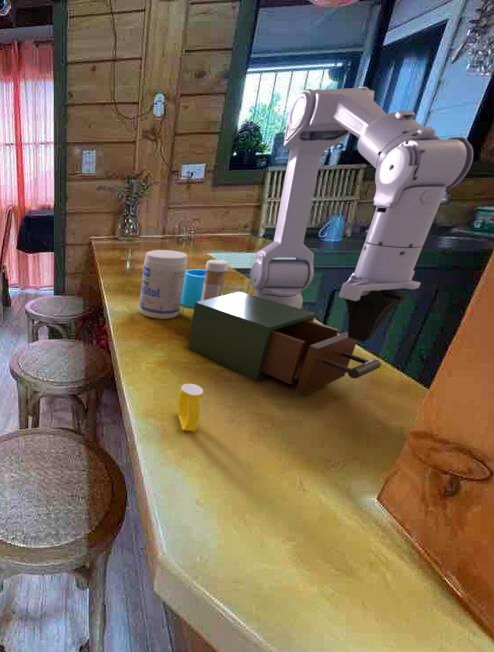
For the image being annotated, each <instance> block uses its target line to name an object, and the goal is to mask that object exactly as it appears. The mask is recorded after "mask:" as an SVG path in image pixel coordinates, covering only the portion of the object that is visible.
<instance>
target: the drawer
mask: <svg viewBox="0 0 494 652" xmlns="http://www.w3.org/2000/svg"><path fill="white" fill-rule="evenodd" d="M339 331H340V329H339V328H337V327H336V328H335V327H332V326H329V325H326V324H322V323H318V322H315V321H313V322H312V321H309V320H305V321H302V322H298V323H295V324H292V325H289V326H286V327H283V328H279V329H276V330H273V331H271V334H270V338H269V342H268V346H267V350H266V354H265V358H264V362H263V366H262V369H261V371H262V372H264V373H266V374H268V376H271V377H273V378H275V379H278V380H280V381H281V382H284V383H286V384H289V385H292V384H295V383H296V382H297V385H296V388H295V392H297V393H298V394H301V395H306V394H308V393H310V392H314V391H315V390H317V389H320V388H321V387H324V386H325V385H328V384H330V383H332V382H334V381H337V380H339V379H341V378H343V377H345V375H346V374H347V375H348V377H349V378H351V379H354V380H355V379H358V378H360V377H363V376H365V375H367V374H369V373H371V372H373V371H376V370H378V369H380V368H381V366H382V363H381V362H380V360H378V359H370V360H369V359H366V358H363V357H360V356H357V355H354V354H353V353H354V351H355V348H356V346H357V342H358V340H355V339H352V338H349V337H348V331H346V332H343V333H341V334H339ZM351 361H355V362H357V363H359V365H357V366H356V367H352V368H351V367H349V365H350V362H351Z"/></svg>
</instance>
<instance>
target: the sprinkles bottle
mask: <svg viewBox="0 0 494 652" xmlns="http://www.w3.org/2000/svg"><path fill="white" fill-rule="evenodd" d="M229 266H230V263H229V261H227V260H223V259H209V260H207V261H206V265H205V270H206V275H205V281H204V286H203V292H202V298H201V301H203V300H207V299H211V298H215V297H220V296H224V295H223V294H224V289H225V282H226V275H227V272H228V270H229Z"/></svg>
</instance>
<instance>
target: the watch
mask: <svg viewBox="0 0 494 652" xmlns="http://www.w3.org/2000/svg"><path fill="white" fill-rule="evenodd" d="M203 395H204V389H203V388H202V387H201V386H199V385H198V384H195V383H184V384H182V385H181V387H180V391H179V397H178V405H177V406H178V408H177V409H178V410H177V411H178V419H179V423H180V426H181V430H182V431H189V432H195V431H196V430H197V428H198V426H199V420H200V414H201V413H200V410H201V407H200V406H201V404H200V399H201V398H202V397H203Z"/></svg>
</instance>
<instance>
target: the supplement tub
mask: <svg viewBox="0 0 494 652" xmlns="http://www.w3.org/2000/svg"><path fill="white" fill-rule="evenodd" d="M187 265H188V254H187V253H185V252H182V251H178V250H171V249H170V250H169V249H154V250H148V251H147V252H146V253H145V258H144V262H143V268H142V279H141V287H140V295H139V296H140V297H139V305H138V310H139V312H140V314H142V315H144V316H146V317H148V318H151V319H152V318H153V319H160V320H168V319H173V318H175V317H177V316H178V315H179V313H180V308H181V297H182V291H183V285H184V279H185V272H186V270H187Z"/></svg>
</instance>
